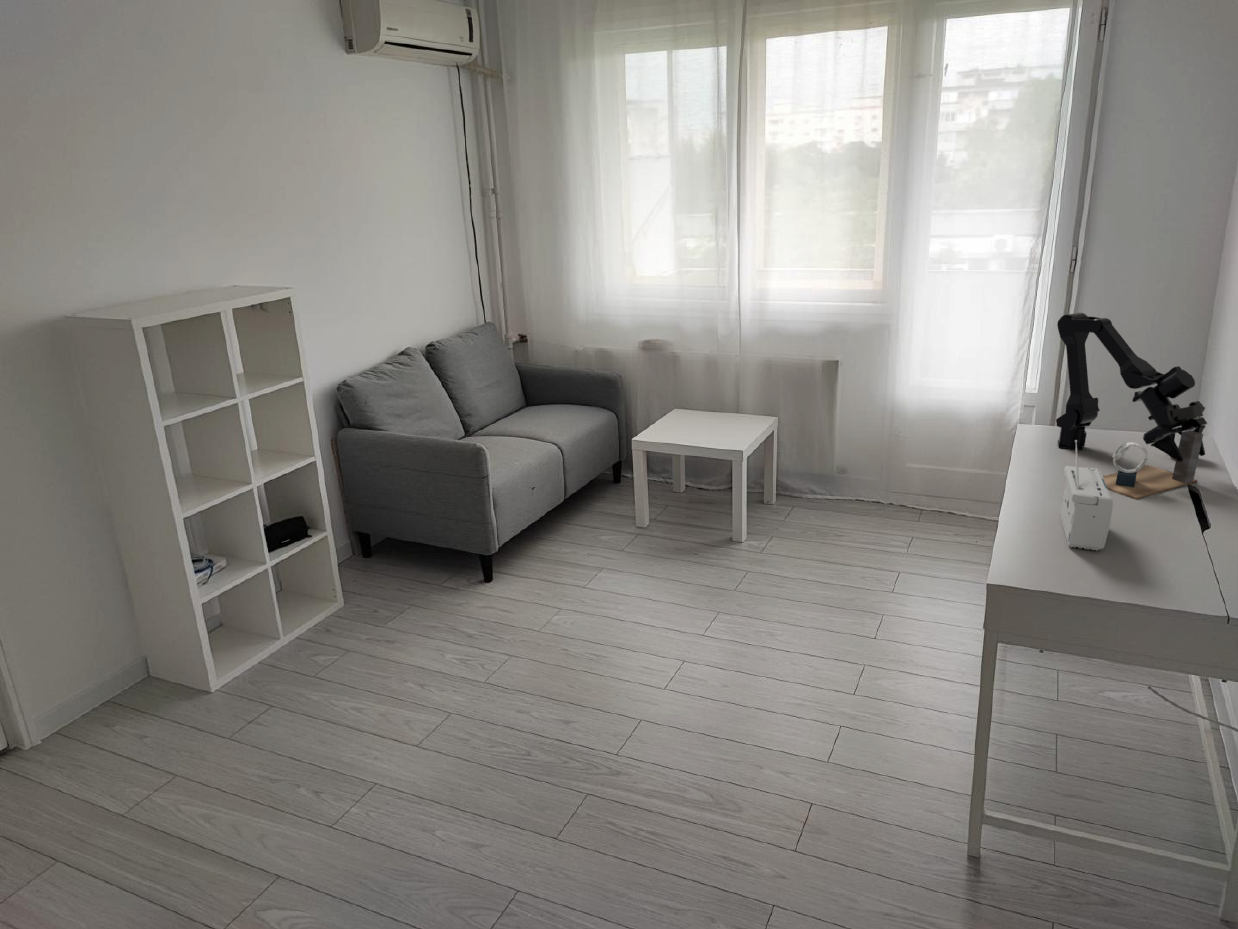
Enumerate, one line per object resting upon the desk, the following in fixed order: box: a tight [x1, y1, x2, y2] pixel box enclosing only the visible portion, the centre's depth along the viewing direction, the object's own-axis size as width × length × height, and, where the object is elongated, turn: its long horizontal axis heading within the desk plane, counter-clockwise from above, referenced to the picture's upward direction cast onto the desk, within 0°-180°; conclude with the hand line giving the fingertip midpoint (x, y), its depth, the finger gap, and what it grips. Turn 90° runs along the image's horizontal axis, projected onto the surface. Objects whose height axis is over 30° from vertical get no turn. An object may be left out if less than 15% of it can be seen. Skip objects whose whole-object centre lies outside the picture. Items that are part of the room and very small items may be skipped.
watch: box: [1112, 441, 1148, 487], centre depth 234 cm, size 6×8×11 cm
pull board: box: [1102, 431, 1204, 500], centre depth 235 cm, size 14×25×14 cm, turn 117°
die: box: [1174, 433, 1181, 448], centre depth 254 cm, size 8×9×10 cm
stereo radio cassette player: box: [1060, 440, 1114, 551], centre depth 204 cm, size 21×8×20 cm, turn 160°
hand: (1192, 458), depth 234 cm, fingers open, 9 cm apart
